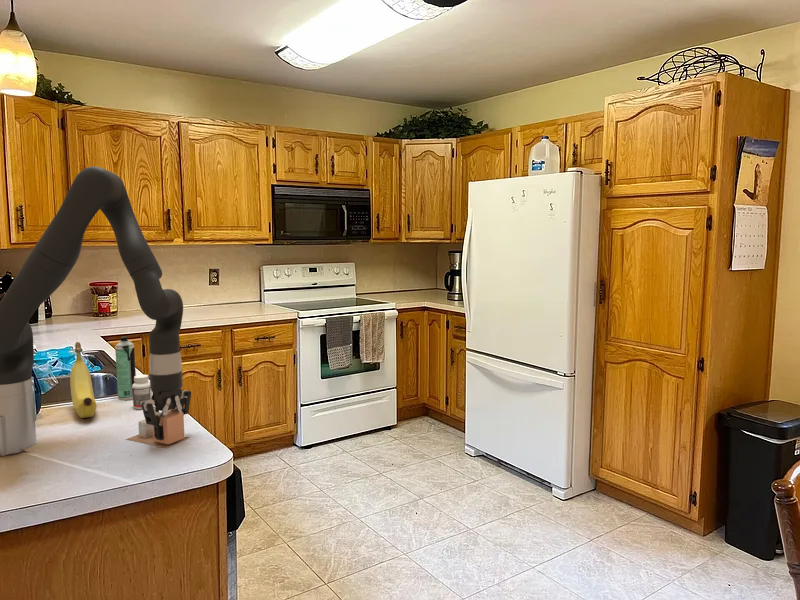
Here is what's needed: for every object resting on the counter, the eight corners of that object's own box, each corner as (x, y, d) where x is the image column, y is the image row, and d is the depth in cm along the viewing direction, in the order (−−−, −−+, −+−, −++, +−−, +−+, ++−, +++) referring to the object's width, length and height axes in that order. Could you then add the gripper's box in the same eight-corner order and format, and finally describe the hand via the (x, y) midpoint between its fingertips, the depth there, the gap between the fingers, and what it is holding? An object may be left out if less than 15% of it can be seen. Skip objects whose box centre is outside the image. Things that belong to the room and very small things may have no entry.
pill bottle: (136, 404, 180) (135, 374, 179) (154, 404, 181) (153, 373, 180) (130, 410, 175) (128, 378, 174) (149, 409, 175) (147, 378, 174)
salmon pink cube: (168, 444, 143) (167, 418, 143) (153, 441, 146) (151, 415, 145) (184, 437, 148) (183, 412, 147) (169, 434, 150) (168, 409, 149)
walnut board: (165, 451, 142) (165, 448, 142) (125, 442, 148) (125, 439, 148) (190, 440, 149) (190, 437, 149) (151, 432, 155) (151, 429, 155)
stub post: (146, 438, 149) (145, 423, 148) (139, 436, 150) (138, 421, 149) (154, 435, 151) (153, 420, 150) (147, 433, 152) (146, 419, 152)
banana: (101, 422, 164) (96, 352, 161) (77, 426, 161) (72, 354, 158) (91, 402, 182) (87, 340, 180) (70, 405, 179) (66, 342, 177)
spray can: (140, 397, 189) (137, 336, 187) (124, 401, 184) (121, 338, 182) (130, 394, 192) (127, 334, 189) (114, 398, 187) (111, 337, 185)
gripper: (153, 378, 137) (156, 447, 139) (198, 365, 149) (201, 429, 151) (130, 374, 140) (134, 442, 142) (177, 362, 153) (180, 425, 155)
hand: (168, 435), depth 147 cm, fingers closed on salmon pink cube, 5 cm apart
